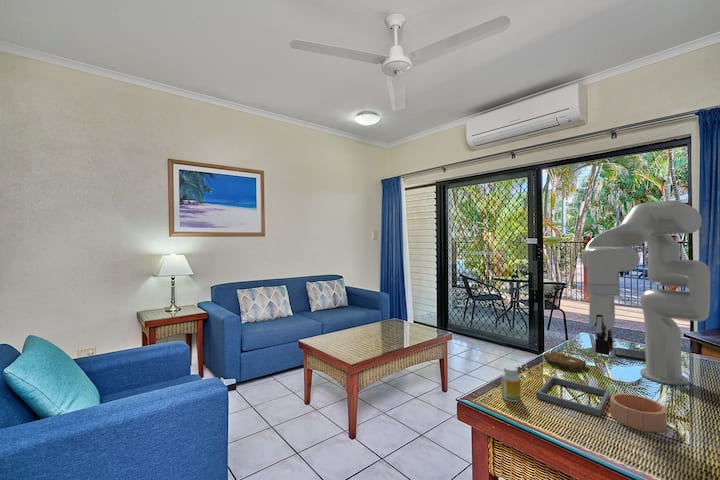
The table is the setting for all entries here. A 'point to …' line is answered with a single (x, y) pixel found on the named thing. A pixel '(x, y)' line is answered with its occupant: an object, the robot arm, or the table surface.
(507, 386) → the supplement bottle
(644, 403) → the bowl
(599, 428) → the table surface
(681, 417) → the table surface
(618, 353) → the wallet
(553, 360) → the decorative rock
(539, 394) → the grey flat square frame
